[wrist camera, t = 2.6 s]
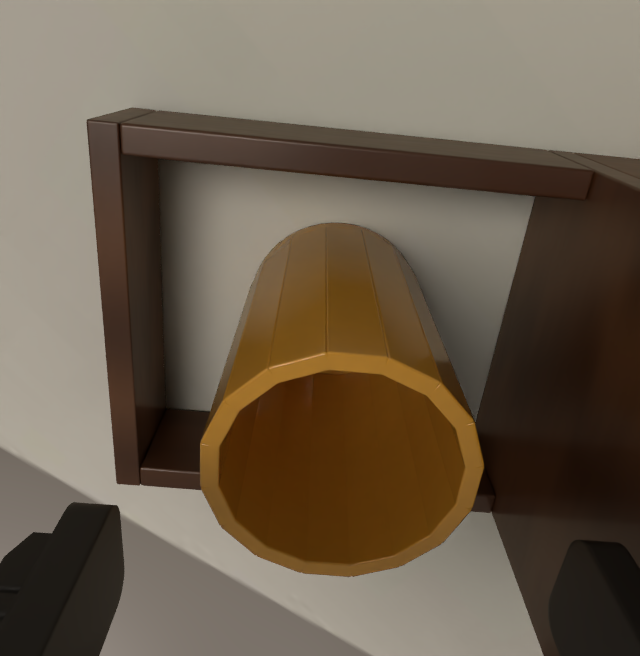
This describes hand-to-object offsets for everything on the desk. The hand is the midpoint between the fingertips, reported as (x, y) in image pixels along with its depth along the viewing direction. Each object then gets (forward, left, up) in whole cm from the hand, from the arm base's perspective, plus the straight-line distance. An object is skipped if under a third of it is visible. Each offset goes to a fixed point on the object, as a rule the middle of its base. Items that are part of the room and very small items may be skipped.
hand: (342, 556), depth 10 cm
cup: (0, 0, -11) cm, 11 cm away
